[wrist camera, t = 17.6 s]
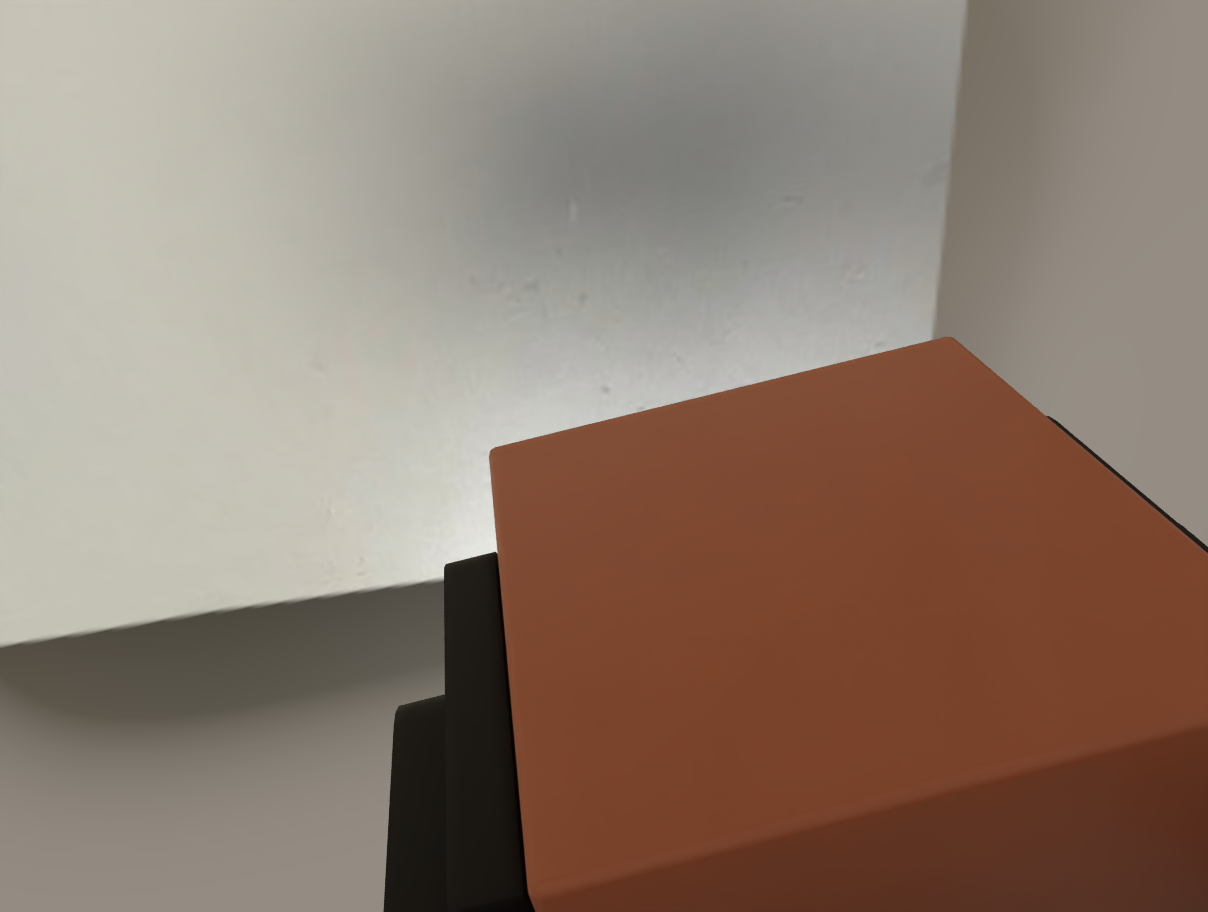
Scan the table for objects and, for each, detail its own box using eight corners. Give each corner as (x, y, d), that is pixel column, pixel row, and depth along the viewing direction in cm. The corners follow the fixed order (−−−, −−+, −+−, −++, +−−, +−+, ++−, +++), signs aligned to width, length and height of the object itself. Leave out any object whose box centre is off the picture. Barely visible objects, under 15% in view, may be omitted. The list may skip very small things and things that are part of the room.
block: (952, 331, 10) (1368, 679, 5) (952, 673, 12) (1234, 1097, 8) (485, 446, 9) (524, 895, 5) (584, 767, 12) (665, 1252, 8)
